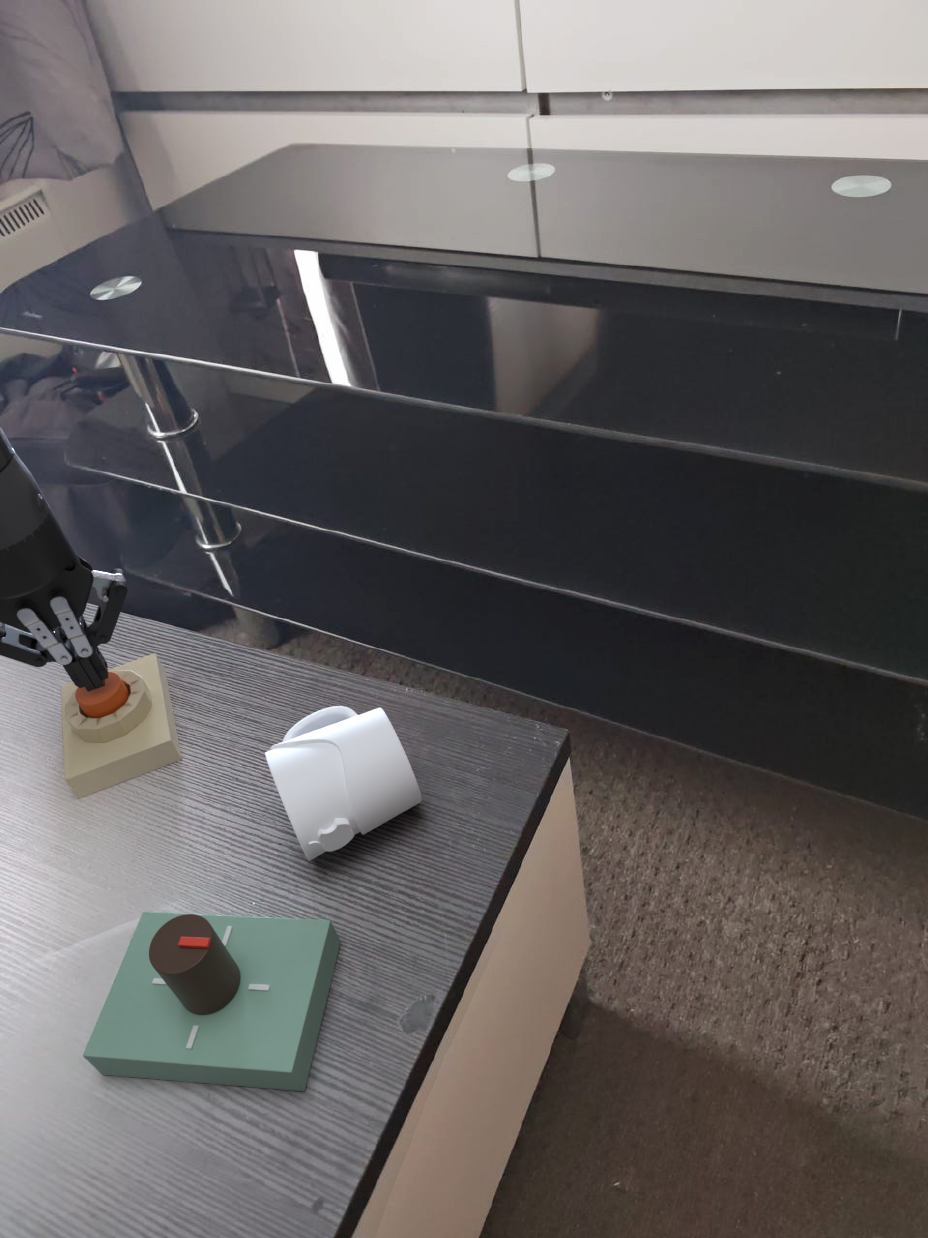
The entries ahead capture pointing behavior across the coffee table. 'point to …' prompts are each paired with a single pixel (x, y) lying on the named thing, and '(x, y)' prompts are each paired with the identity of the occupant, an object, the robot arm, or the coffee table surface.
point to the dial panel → (239, 1032)
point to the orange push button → (103, 697)
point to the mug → (341, 776)
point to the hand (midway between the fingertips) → (96, 682)
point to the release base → (120, 731)
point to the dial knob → (194, 964)
